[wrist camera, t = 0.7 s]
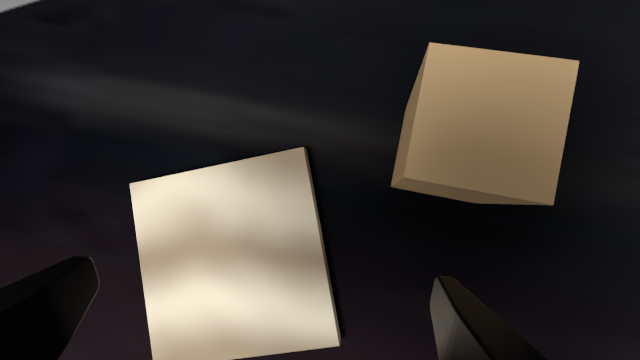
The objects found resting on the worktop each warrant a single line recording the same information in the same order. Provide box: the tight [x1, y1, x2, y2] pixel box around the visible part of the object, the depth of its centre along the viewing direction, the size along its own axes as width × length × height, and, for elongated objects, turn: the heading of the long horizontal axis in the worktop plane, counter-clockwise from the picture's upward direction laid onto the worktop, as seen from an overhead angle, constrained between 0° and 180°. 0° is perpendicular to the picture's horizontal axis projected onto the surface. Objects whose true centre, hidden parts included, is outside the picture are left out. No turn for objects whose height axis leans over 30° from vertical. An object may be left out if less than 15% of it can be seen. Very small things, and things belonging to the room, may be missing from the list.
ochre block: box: [391, 42, 579, 205], centre depth 16 cm, size 5×5×9 cm
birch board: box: [130, 147, 341, 360], centre depth 22 cm, size 12×12×1 cm
